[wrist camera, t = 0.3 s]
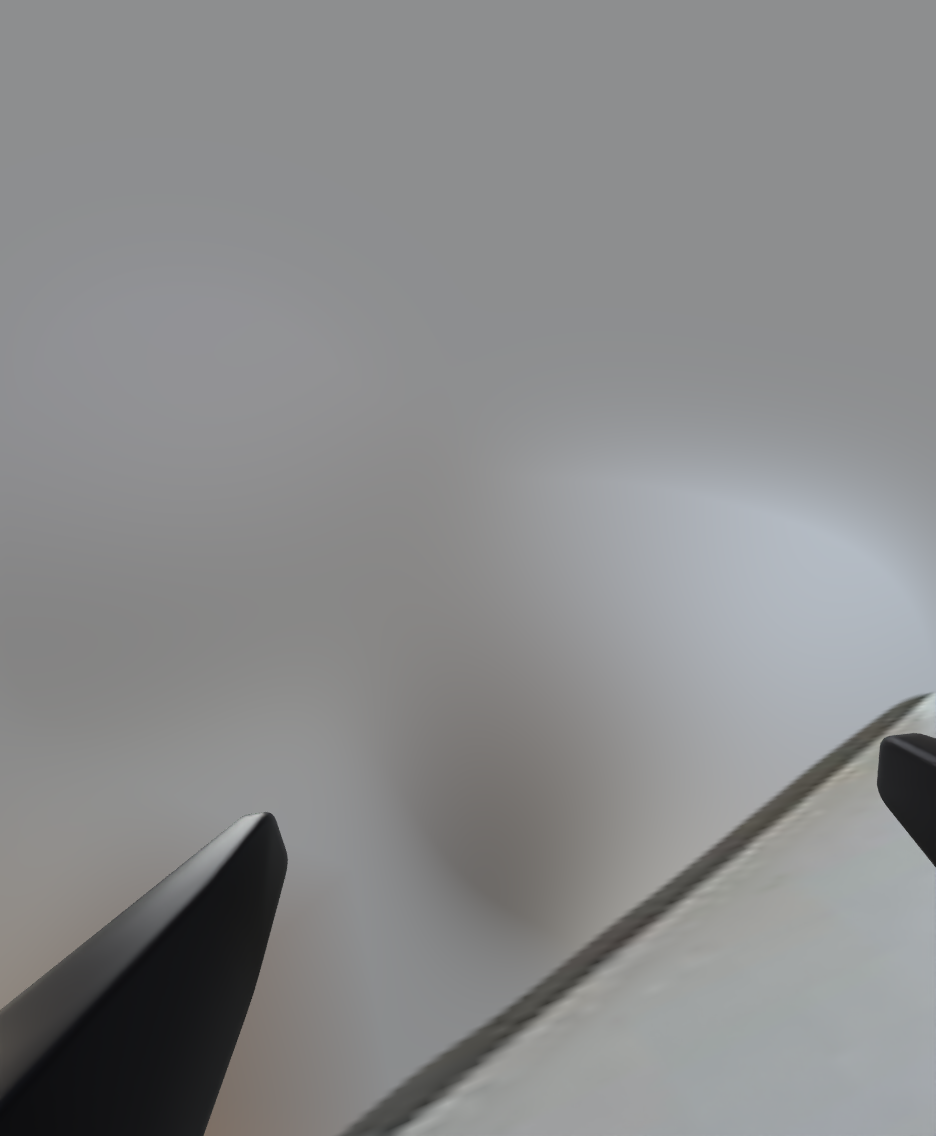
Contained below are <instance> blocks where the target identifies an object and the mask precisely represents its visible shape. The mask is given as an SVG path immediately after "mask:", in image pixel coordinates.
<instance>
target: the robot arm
mask: <svg viewBox="0 0 936 1136" xmlns="http://www.w3.org/2000/svg"><path fill="white" fill-rule="evenodd" d="M877 787H878V791H879V793H880V796H881V798H882V800H883V801H884V803H885V804H886V806H887V807H888V808H889V810H890V811H891V812H892V813H893V815H894V816H895V817H896V818H897V820H898V821H899V822H900V823H901V825H902V826H903V827H904V828H905V830H906V831H907V832H908V833H909V835H910V836H911V837H912V838H913V840H914V841H915V842H916V843H917V845H918V846H919V847H920V848H921V850H922V851H923V852H924V853H925V855H926V856H927V857H928V858H929V860H930V861H931V862H932V863H933V865H934V866H935V867H936V739H935V738H932V737H929V736H926V735H923V734H917V733H910V734H902V735H894V736H888V737H886V738H884V739H883V741H882V742H881V744H880V752H879V765H878V777H877ZM287 861H288V859H287V852H286V849H285V846H284V843H283V840H282V837H281V834H280V831H279V828H278V825H277V822H276V819H275V817H274V816H273V815H272V814H271V813H268V812H264V813H255V814H248V815H245V816H242V817H241V818H240V819H238V820H237V821H236V822H235V823H234V824H232V825H231V826H230V827H228V828H227V829H226V830H225V831H223V832H222V833H221V834H220V835H218V836H217V837H216V838H215V839H213V840H212V841H211V842H210V843H208V844H207V845H206V846H205V847H203V848H202V849H201V850H200V851H198V852H197V853H196V854H195V855H193V856H192V857H191V858H190V859H188V860H187V861H186V862H185V863H183V864H182V865H181V866H180V867H178V868H177V869H176V870H175V871H173V872H172V873H171V874H170V875H169V876H167V877H166V878H165V879H163V880H162V881H161V882H160V883H158V884H157V885H156V886H155V887H153V888H152V889H151V890H150V891H148V892H147V893H146V894H145V895H143V896H142V897H141V898H140V899H138V900H137V901H136V902H135V903H133V904H132V905H131V906H130V907H128V908H127V909H126V910H125V911H123V912H122V913H121V914H120V915H118V916H117V917H116V918H115V919H113V920H112V921H111V922H110V923H108V924H107V925H106V926H105V927H103V928H102V929H101V930H100V931H98V932H97V933H96V934H95V935H93V936H92V937H91V938H90V939H88V940H87V941H86V942H85V943H83V944H82V945H81V946H80V947H79V948H77V949H76V950H75V951H73V952H72V953H71V954H70V955H68V956H67V957H66V958H65V959H63V960H62V961H61V962H60V963H59V964H58V965H56V966H55V967H53V968H52V969H51V970H50V971H49V972H47V973H46V974H45V975H43V976H42V977H41V978H40V979H38V980H37V981H36V982H35V983H33V984H32V985H31V986H30V987H28V988H27V989H26V990H25V991H23V992H22V993H21V994H20V995H18V996H17V997H16V998H15V999H13V1000H12V1001H11V1002H10V1003H9V1004H7V1005H6V1006H5V1007H4V1008H2V1009H1V1010H0V1136H203V1135H204V1133H205V1130H206V1127H207V1124H208V1121H209V1119H210V1115H211V1113H212V1110H213V1107H214V1104H215V1102H216V1099H217V1096H218V1093H219V1090H220V1088H221V1085H222V1082H223V1079H224V1076H225V1073H226V1070H227V1068H228V1065H229V1062H230V1059H231V1056H232V1054H233V1051H234V1048H235V1045H236V1042H237V1039H238V1037H239V1034H240V1031H241V1028H242V1025H243V1022H244V1020H245V1017H246V1014H247V1011H248V1008H249V1005H250V1002H251V999H252V996H253V993H254V990H255V986H256V983H257V979H258V976H259V972H260V969H261V965H262V961H263V958H264V954H265V950H266V947H267V943H268V938H269V935H270V932H271V928H272V924H273V920H274V916H275V913H276V909H277V905H278V902H279V898H280V894H281V890H282V887H283V883H284V879H285V875H286V871H287V864H288V863H287Z"/></svg>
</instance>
